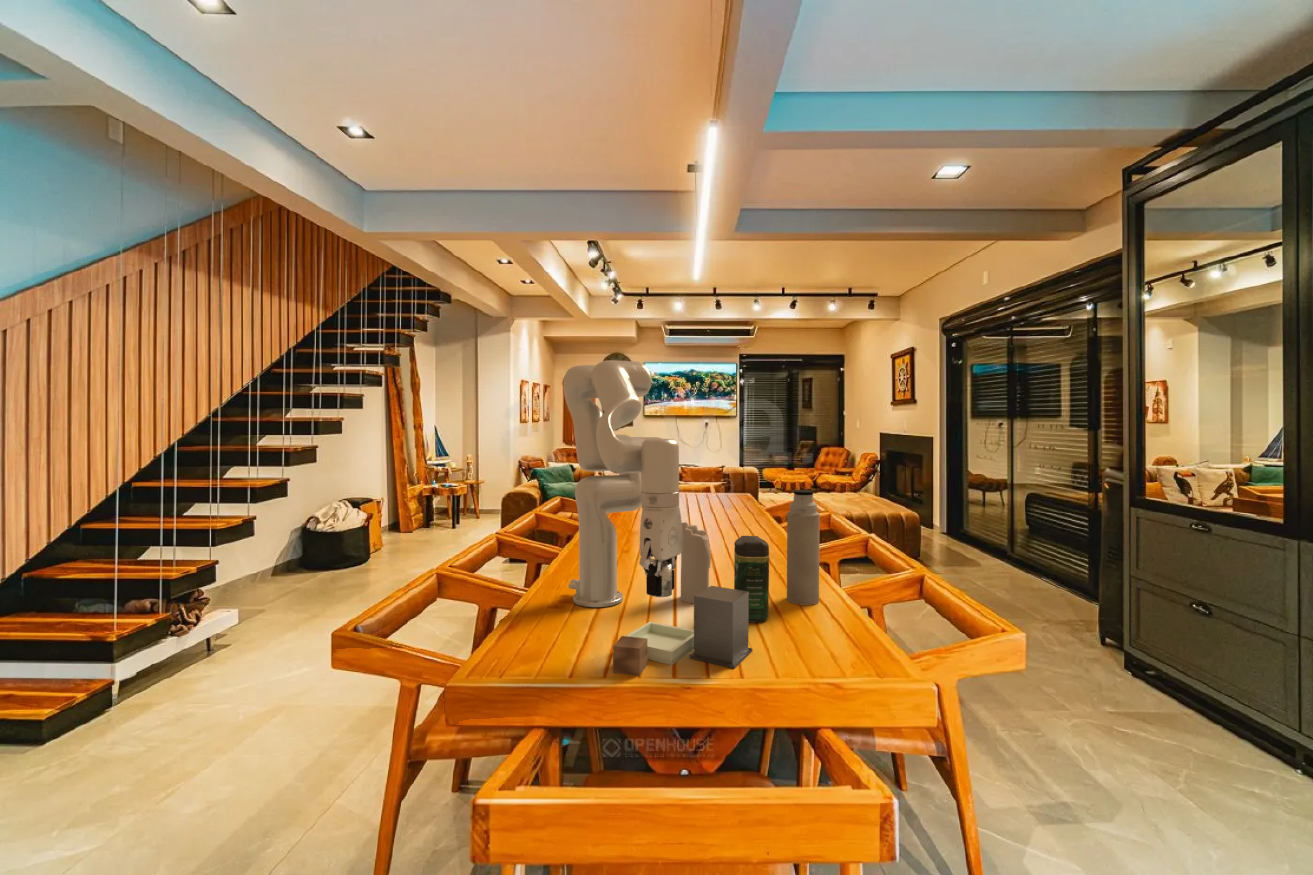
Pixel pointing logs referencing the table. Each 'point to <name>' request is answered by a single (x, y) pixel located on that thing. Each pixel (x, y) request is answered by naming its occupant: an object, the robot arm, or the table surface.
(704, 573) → the grey jagged upright block
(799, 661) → the table surface
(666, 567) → the grey cylinder
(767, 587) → the coffee jar
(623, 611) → the table surface
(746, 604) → the block
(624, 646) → the walnut block
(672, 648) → the tray
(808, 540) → the thermos bottle
